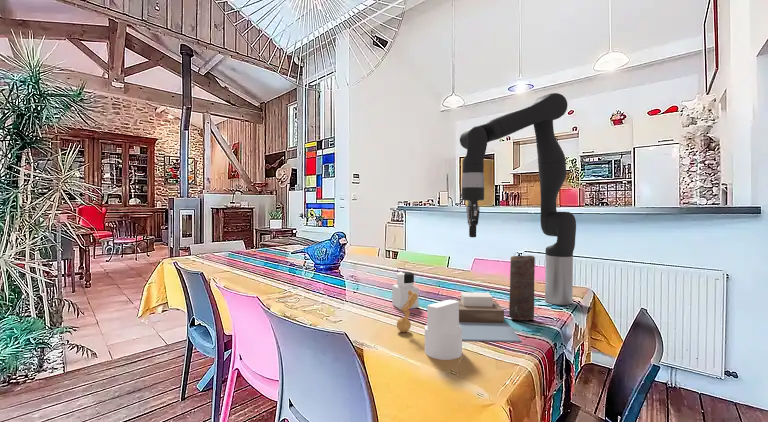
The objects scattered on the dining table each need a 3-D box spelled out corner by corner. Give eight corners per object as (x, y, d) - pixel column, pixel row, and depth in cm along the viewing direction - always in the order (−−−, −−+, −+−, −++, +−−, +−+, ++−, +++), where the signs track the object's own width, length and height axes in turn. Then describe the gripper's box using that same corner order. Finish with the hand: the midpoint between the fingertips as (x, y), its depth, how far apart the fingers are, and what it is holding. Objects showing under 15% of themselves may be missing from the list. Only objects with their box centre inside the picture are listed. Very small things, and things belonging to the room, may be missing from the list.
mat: (453, 323, 119) (453, 321, 119) (507, 324, 118) (507, 323, 118) (459, 340, 104) (459, 339, 104) (521, 342, 103) (521, 340, 103)
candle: (536, 324, 118) (536, 257, 118) (510, 322, 120) (511, 257, 119) (531, 317, 126) (532, 254, 125) (507, 315, 127) (508, 254, 127)
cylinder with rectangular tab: (440, 343, 103) (440, 297, 102) (469, 352, 96) (469, 303, 96) (417, 352, 96) (417, 303, 96) (446, 363, 90) (446, 310, 90)
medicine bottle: (410, 303, 143) (410, 270, 143) (418, 307, 137) (418, 273, 136) (392, 304, 141) (392, 271, 141) (399, 309, 134) (399, 274, 134)
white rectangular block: (461, 301, 130) (461, 292, 130) (488, 301, 129) (488, 292, 129) (463, 306, 124) (463, 296, 124) (492, 306, 123) (492, 297, 123)
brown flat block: (452, 311, 132) (453, 300, 132) (495, 312, 131) (495, 300, 131) (456, 322, 120) (457, 309, 120) (503, 323, 119) (504, 310, 119)
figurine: (403, 326, 116) (403, 286, 116) (422, 329, 113) (422, 288, 113) (390, 335, 108) (390, 291, 108) (410, 338, 106) (410, 294, 105)
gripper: (487, 185, 128) (487, 239, 128) (480, 187, 141) (480, 235, 141) (464, 185, 128) (464, 238, 129) (459, 187, 142) (459, 235, 142)
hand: (472, 237), depth 135 cm, fingers closed
